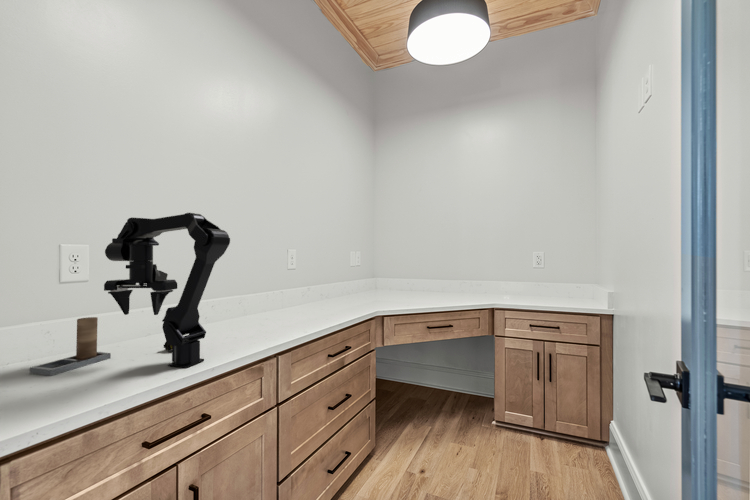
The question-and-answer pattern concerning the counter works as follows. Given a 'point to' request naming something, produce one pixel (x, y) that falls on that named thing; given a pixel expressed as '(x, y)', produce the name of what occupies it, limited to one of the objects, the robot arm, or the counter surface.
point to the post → (86, 338)
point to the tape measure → (167, 346)
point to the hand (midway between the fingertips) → (141, 314)
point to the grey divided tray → (67, 364)
